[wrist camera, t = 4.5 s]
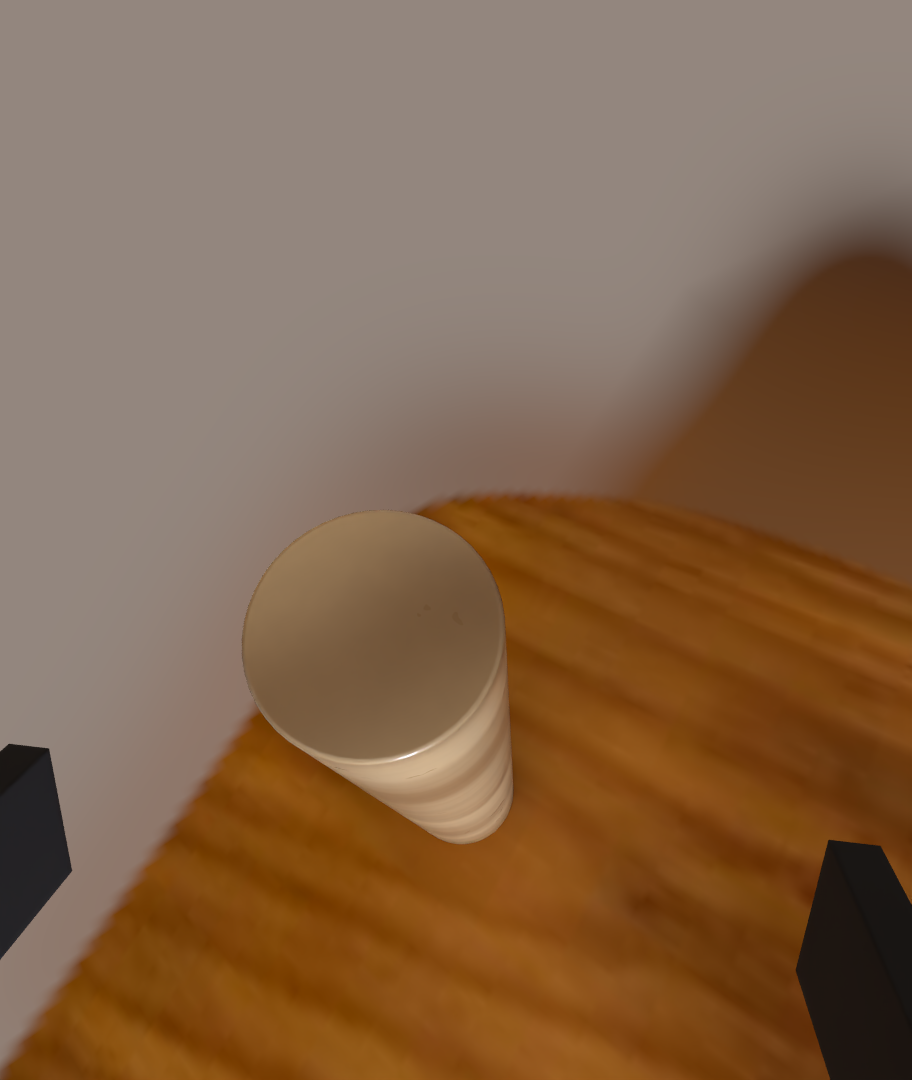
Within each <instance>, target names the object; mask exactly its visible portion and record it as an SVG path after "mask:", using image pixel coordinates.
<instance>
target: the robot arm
mask: <svg viewBox="0 0 912 1080" xmlns="http://www.w3.org/2000/svg"><path fill="white" fill-rule="evenodd" d="M71 871H72V868H71V863H70V857H69V852H68V847H67V841H66V837H65V831H64V826H63V820H62V815H61V810H60V805H59V799H58V794H57V788H56V783H55V778H54V773H53V767H52V762H51V757H50V752H49V749H48V748H40V747H31V746H23V745H14V744H8V745H7V746H6V747H5V748H4V749H3V750H1V751H0V959H1V958H2V957H3V956H4V954H5V953H6V952H7V951H8V949H9V948H10V947H11V946H12V944H13V943H14V942H15V941H16V939H17V938H18V937H19V936H20V935H21V933H22V932H23V931H24V930H25V928H26V927H27V926H28V924H29V923H30V922H31V921H32V920H33V918H34V917H35V916H36V915H37V913H38V912H39V911H40V910H41V909H42V907H43V906H44V905H45V904H46V902H47V901H48V900H49V899H50V897H51V896H52V895H53V894H54V893H55V891H56V890H57V889H58V888H59V886H60V885H61V884H62V883H63V881H64V880H65V879H66V878H67V877H68V875H69V874H70V873H71ZM796 973H797V976H798V979H799V982H800V985H801V988H802V992H803V995H804V998H805V1001H806V1004H807V1007H808V1011H809V1014H810V1017H811V1020H812V1023H813V1026H814V1030H815V1033H816V1036H817V1039H818V1042H819V1045H820V1049H821V1052H822V1055H823V1058H824V1061H825V1064H826V1067H827V1071H828V1074H829V1077H830V1080H912V905H911V903H910V901H909V899H908V897H907V895H906V893H905V892H904V890H903V888H902V886H901V884H900V882H899V880H898V878H897V876H896V875H895V873H894V871H893V869H892V867H891V865H890V863H889V861H888V859H887V857H886V856H885V854H884V852H883V850H882V848H881V846H877V845H868V844H860V843H851V842H843V841H834V840H828V844H827V848H826V852H825V856H824V860H823V864H822V868H821V872H820V876H819V880H818V884H817V888H816V892H815V896H814V900H813V904H812V908H811V912H810V915H809V919H808V923H807V927H806V931H805V935H804V939H803V943H802V947H801V951H800V955H799V959H798V963H797V967H796Z"/></svg>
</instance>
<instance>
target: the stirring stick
mask: <svg viewBox="0 0 912 1080" xmlns="http://www.w3.org/2000/svg"><path fill="white" fill-rule="evenodd" d="M242 660H243V667H244V673H245V677H246V680H247V684H248V687H249V690H250V692H251V694H252V696H253V698H254V701H255V703H256V705H257V706H258V708H259V709H260V711H261V712H262V714H263V716H264V717H265V718H266V720H267V721H268V722H269V723H270V724H271V725H272V726H273V728H274V729H275V730H276V731H277V732H278V733H280V734H281V735H282V736H283V737H284V738H285V739H287V740H288V741H289V742H290V743H292V744H293V745H295V746H297V747H298V748H300V749H301V750H303V751H304V752H306V753H307V754H309V755H310V756H312V757H313V758H315V759H317V760H318V761H320V762H321V763H323V764H324V765H326V766H327V767H329V768H330V769H332V770H333V771H335V772H337V773H338V774H340V775H341V776H343V777H344V778H346V779H347V780H349V781H350V782H352V783H354V784H355V785H357V786H358V787H360V788H361V789H363V790H364V791H366V792H367V793H369V794H370V795H372V796H374V797H375V798H377V799H378V800H380V801H381V802H383V803H384V804H386V805H387V806H389V807H390V808H392V809H394V810H395V811H397V812H398V813H400V814H401V815H403V816H404V817H406V818H407V819H409V820H410V821H412V822H414V823H415V824H417V825H418V826H420V827H421V828H423V829H424V830H426V831H427V832H429V833H431V834H432V835H434V836H435V837H437V838H439V839H441V840H443V841H446V842H449V843H454V844H468V843H474V842H477V841H480V840H482V839H484V838H486V837H488V836H489V835H491V834H492V833H493V832H494V831H496V830H497V829H498V828H499V827H500V825H501V824H502V823H503V821H504V820H505V818H506V817H507V815H508V813H509V810H510V807H511V804H512V800H513V771H512V751H511V731H510V711H509V692H508V672H507V652H506V632H505V616H504V610H503V604H502V599H501V596H500V593H499V590H498V587H497V584H496V582H495V580H494V578H493V576H492V574H491V571H490V570H489V568H488V567H487V565H486V564H485V562H484V561H483V559H482V558H481V557H480V555H479V554H478V553H477V552H476V551H475V550H474V548H473V547H472V546H471V545H470V544H468V543H467V542H466V541H465V540H464V539H463V538H462V537H461V536H459V535H458V534H456V533H455V532H453V531H452V530H450V529H449V528H447V527H446V526H444V525H442V524H440V523H437V522H435V521H433V520H431V519H428V518H425V517H422V516H419V515H416V514H412V513H407V512H402V511H391V510H369V511H363V512H356V513H351V514H348V515H344V516H340V517H337V518H334V519H332V520H329V521H327V522H324V523H322V524H320V525H318V526H317V527H315V528H313V529H311V530H309V531H308V532H306V533H305V534H303V535H302V536H300V537H299V538H297V539H296V540H295V541H293V542H292V543H291V544H290V545H289V546H288V547H287V548H285V549H284V550H283V551H282V552H281V553H280V554H279V556H278V557H277V558H276V559H275V560H274V561H273V562H272V563H271V565H270V566H269V568H268V569H267V570H266V572H265V573H264V575H263V576H262V578H261V580H260V582H259V583H258V585H257V587H256V589H255V590H254V593H253V595H252V598H251V600H250V603H249V605H248V609H247V613H246V617H245V621H244V626H243V634H242Z"/></svg>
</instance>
